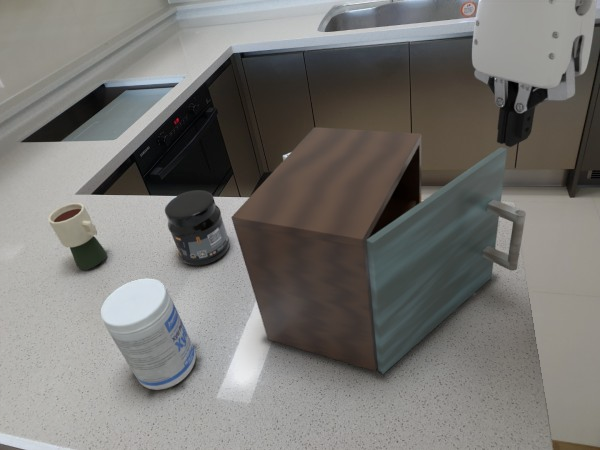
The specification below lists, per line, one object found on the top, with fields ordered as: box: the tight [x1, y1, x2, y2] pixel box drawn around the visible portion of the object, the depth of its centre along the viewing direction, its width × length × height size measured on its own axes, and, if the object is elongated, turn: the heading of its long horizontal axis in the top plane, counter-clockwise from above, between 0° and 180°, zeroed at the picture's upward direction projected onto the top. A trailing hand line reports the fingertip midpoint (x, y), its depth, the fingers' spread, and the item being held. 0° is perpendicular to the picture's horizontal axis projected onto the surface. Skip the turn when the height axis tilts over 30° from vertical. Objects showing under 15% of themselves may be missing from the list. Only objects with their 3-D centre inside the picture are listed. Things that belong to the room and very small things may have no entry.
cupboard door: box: [366, 146, 527, 375], centre depth 62 cm, size 6×26×24 cm, turn 129°
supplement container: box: [164, 189, 230, 266], centre depth 92 cm, size 10×10×12 cm
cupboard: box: [230, 126, 422, 372], centre depth 72 cm, size 18×26×24 cm
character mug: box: [47, 202, 108, 271], centre depth 95 cm, size 11×7×13 cm, turn 70°
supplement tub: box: [100, 277, 197, 391], centre depth 68 cm, size 10×10×15 cm
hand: (512, 140), depth 50 cm, fingers closed
